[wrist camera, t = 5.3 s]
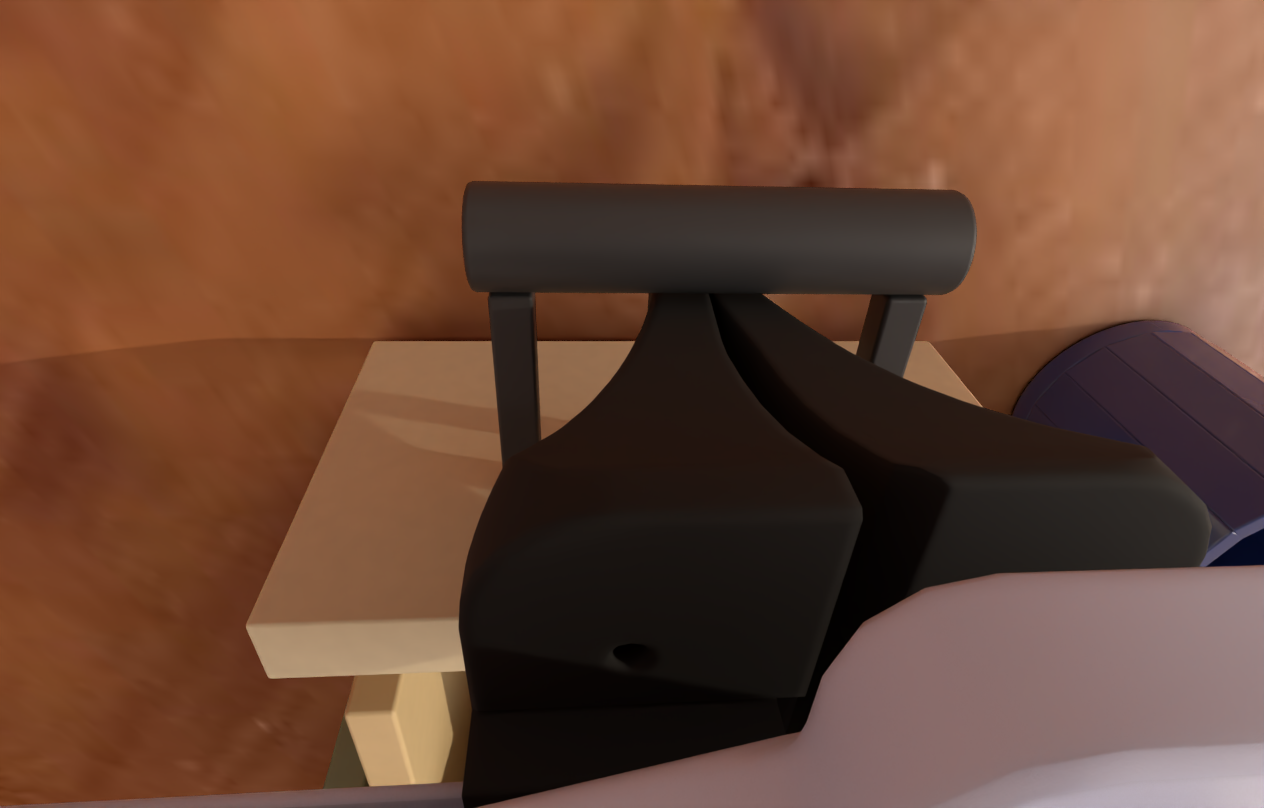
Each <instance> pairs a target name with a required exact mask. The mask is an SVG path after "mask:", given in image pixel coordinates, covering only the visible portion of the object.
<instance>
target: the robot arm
mask: <svg viewBox="0 0 1264 808" xmlns="http://www.w3.org/2000/svg"><path fill="white" fill-rule="evenodd" d="M1211 529H1212V524H1211V521H1210V517H1209V513H1208V510H1207V506H1206V504H1205V503H1204V502H1203V501H1202V500H1201V499H1200V498H1199V497H1198V496H1197V495H1196V494H1195V493H1194V492H1193V491H1192V490H1191V489H1190V488H1189V487H1188V486H1187V485H1186V484H1185V483H1184V482H1183V481H1182V480H1181V479H1180V478H1179V477H1178V476H1177V475H1176V474H1175V473H1174V472H1173V471H1172V470H1171V469H1170V468H1169V467H1168V466H1166V465H1165V464H1164V463H1163V462H1162V461H1161V460H1160V459H1159V458H1158V457H1157V456H1156V455H1155V454H1154V453H1153V452H1152V451H1151V450H1150V449H1148V448H1147V447H1145V446H1141V445H1136V444H1131V443H1127V442H1122V441H1117V440H1112V439H1107V438H1103V437H1098V436H1093V435H1088V434H1084V433H1079V432H1074V431H1069V430H1064V429H1060V428H1055V427H1051V426H1047V425H1043V424H1039V423H1035V422H1032V421H1028V420H1025V419H1021V418H1017V417H1014V416H1010V415H1007V414H1003V413H999V412H996V411H993V410H990V409H986V408H983V407H980V406H977V405H974V404H971V403H968V402H965V401H962V400H959V399H956V398H954V397H951V396H948V395H946V394H943V393H940V392H937V391H935V390H932V389H929V388H927V387H924V386H921V385H919V384H917V383H914V382H912V381H909V380H907V379H905V378H902V377H900V376H898V375H896V374H894V373H892V372H889V371H887V370H885V369H883V368H881V367H879V366H877V365H875V364H873V363H871V362H869V361H866V360H864V359H863V358H861V357H859V356H857V355H855V354H853V353H851V352H849V351H848V350H846V349H844V348H843V347H841V346H839V345H838V344H836V343H834V342H832V341H831V340H829V339H827V338H826V337H824V336H822V335H821V334H819V333H818V332H816V331H814V330H813V329H811V328H810V327H808V326H807V325H805V324H804V323H802V322H801V321H799V320H798V319H796V318H795V317H793V316H792V315H790V314H789V313H788V312H786V311H785V310H783V309H782V308H780V307H779V306H778V305H776V304H775V303H773V302H772V301H771V300H769V299H768V298H767V297H765V296H764V295H762V294H710V293H649V299H648V312H647V315H646V318H645V321H644V324H643V326H642V329H641V331H640V333H639V335H638V337H637V339H636V341H635V342H634V344H633V346H632V348H631V350H630V352H629V354H628V355H627V357H626V359H625V360H624V362H623V363H622V365H621V366H620V368H619V369H618V371H617V372H616V373H615V375H614V376H613V377H612V379H611V380H610V381H609V383H608V384H607V385H606V386H605V387H604V388H603V389H602V391H601V392H600V393H599V394H598V395H597V396H596V397H595V399H594V400H593V401H592V402H591V403H590V404H589V405H588V406H587V407H586V408H584V409H583V410H582V411H581V412H580V413H579V414H578V415H576V416H575V417H574V418H573V419H571V420H570V421H569V422H568V423H567V424H565V425H564V426H563V427H562V428H560V429H559V430H557V431H556V432H554V433H553V434H551V435H549V436H548V437H546V438H544V439H542V440H541V441H539V442H537V443H535V444H534V445H532V446H530V447H528V448H526V449H525V450H523V451H521V452H519V453H517V454H515V455H513V456H511V457H510V458H509V459H508V460H507V461H506V462H505V464H504V466H503V468H502V470H501V472H500V474H499V476H498V478H497V480H496V482H495V484H494V486H493V488H492V490H491V493H490V495H489V497H488V499H487V502H486V504H485V506H484V509H483V511H482V513H481V516H480V519H479V521H478V524H477V527H476V530H475V533H474V536H473V539H472V542H471V545H470V549H469V552H468V556H467V560H466V564H465V570H464V576H463V583H462V589H461V596H460V604H459V625H458V629H459V635H460V641H461V647H462V653H463V659H464V665H465V671H466V677H467V683H468V689H469V695H470V701H471V707H472V714H471V722H470V731H469V739H468V747H467V755H466V763H465V772H464V780H463V782H446V783H427V784H408V785H389V786H371V787H352V788H333V789H314V790H295V791H276V792H257V793H238V794H219V795H200V796H181V797H162V798H143V799H124V800H105V801H86V802H67V803H48V804H29V805H10V806H0V808H1264V565H1254V566H1221V567H1199V566H1200V565H1201V563H1202V561H1203V560H1204V558H1205V556H1206V552H1207V549H1208V544H1209V539H1210V534H1211Z"/></svg>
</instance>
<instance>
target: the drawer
mask: <svg viewBox="0 0 1264 808" xmlns="http://www.w3.org/2000/svg"><path fill="white" fill-rule="evenodd" d="M976 237H977V227H976V218H975V213H974V210H973V207H972V205H971V203H970V201H969V200H968V198H967V197H966V196H965V195H964V194H962V193H960V192H958V191H955V190H924V189H871V188H817V187H764V186H710V185H656V184H603V183H549V182H496V181H472V182H469V183H468V184H467V185H466V188H465V191H464V196H463V204H462V245H463V257H464V265H465V271H466V276H467V280H468V283H469V285H470V288H471V289H472V290H473V291H475V292H489V296H488V307H489V318H490V330H491V341H375V342H373V344H372V346H371V348H370V350H369V353H368V355H367V357H366V359H365V362H364V364H363V366H362V368H361V370H360V373H359V375H358V377H357V379H356V382H355V384H354V386H353V388H352V390H351V393H350V395H349V397H348V399H347V401H346V404H345V406H344V408H343V410H342V413H341V415H340V417H339V419H338V421H337V424H336V426H335V428H334V430H333V432H332V435H331V437H330V439H329V441H328V444H327V446H326V448H325V450H324V452H323V455H322V457H321V459H320V461H319V464H318V466H317V468H316V470H315V472H314V475H313V477H312V479H311V481H310V483H309V486H308V488H307V490H306V492H305V495H304V497H303V499H302V501H301V503H300V506H299V508H298V510H297V512H296V515H295V517H294V519H293V521H292V523H291V526H290V528H289V530H288V532H287V534H286V537H285V539H284V541H283V543H282V546H281V548H280V550H279V552H278V554H277V557H276V559H275V561H274V563H273V566H272V568H271V570H270V572H269V574H268V577H267V579H266V581H265V583H264V585H263V588H262V590H261V592H260V594H259V597H258V599H257V601H256V603H255V605H254V608H253V610H252V612H251V614H250V617H249V619H248V621H247V623H246V629H247V631H248V634H249V636H250V638H251V640H252V643H253V645H254V647H255V649H256V652H257V654H258V656H259V658H260V661H261V663H262V665H263V667H264V670H265V672H266V674H267V676H268V678H271V679H276V678H302V677H328V676H354V675H355V678H354V681H353V685H352V688H351V692H350V695H349V699H348V703H347V706H346V710H345V713H344V716H345V720H346V722H347V725H348V728H349V731H350V734H351V736H352V739H353V742H354V745H355V748H356V750H357V753H358V756H359V759H360V762H361V764H362V767H363V770H364V773H365V776H366V778H367V781H368V784H369V787H371V786H389V785H408V784H427V783H446V782H463V780H464V772H465V763H466V755H467V747H468V739H469V731H470V722H471V714H472V707H471V701H470V695H469V689H468V683H467V677H466V671H465V665H464V659H463V653H462V647H461V641H460V635H459V629H458V625H459V604H460V596H461V589H462V583H463V576H464V570H465V564H466V560H467V556H468V552H469V549H470V545H471V542H472V539H473V536H474V533H475V530H476V527H477V524H478V521H479V519H480V516H481V513H482V511H483V509H484V506H485V504H486V502H487V499H488V497H489V495H490V493H491V490H492V488H493V486H494V484H495V482H496V480H497V478H498V476H499V474H500V472H501V470H502V468H503V466H504V464H505V462H506V461H507V460H508V459H509V458H510V457H511V456H513V455H515V454H517V453H519V452H521V451H523V450H525V449H526V448H528V447H530V446H532V445H534V444H535V443H537V442H539V441H541V440H542V439H544V438H546V437H548V436H549V435H551V434H553V433H554V432H556V431H557V430H559V429H560V428H562V427H563V426H564V425H565V424H567V423H568V422H569V421H570V420H571V419H573V418H574V417H575V416H576V415H578V414H579V413H580V412H581V411H582V410H583V409H584V408H586V407H587V406H588V405H589V404H590V403H591V402H592V401H593V400H594V399H595V397H596V396H597V395H598V394H599V393H600V392H601V391H602V389H603V388H604V387H605V386H606V385H607V384H608V383H609V381H610V380H611V379H612V377H613V376H614V375H615V373H616V372H617V371H618V369H619V368H620V366H621V365H622V363H623V362H624V360H625V359H626V357H627V355H628V354H629V352H630V350H631V348H632V346H633V344H634V342H635V341H537V326H536V302H535V293H710V294H872V296H871V300H870V304H869V307H868V311H867V315H866V318H865V322H864V326H863V330H862V333H861V337H860V341H832V342H834V343H836V344H838V345H839V346H841V347H843V348H844V349H846V350H848V351H849V352H851V353H853V354H855V355H857V356H859V357H861V358H863V359H864V360H866V361H869V362H871V363H873V364H875V365H877V366H879V367H881V368H883V369H885V370H887V371H889V372H892V373H894V374H896V375H898V376H900V377H902V378H905V379H907V380H909V381H912V382H914V383H917V384H919V385H921V386H924V387H927V388H929V389H932V390H935V391H937V392H940V393H943V394H946V395H948V396H951V397H954V398H956V399H959V400H962V401H965V402H968V403H971V404H974V405H977V406H980V407H982V406H981V404H980V403H979V402H978V401H977V400H976V398H975V397H974V396H973V395H972V393H971V392H970V391H969V390H968V389H967V387H966V386H965V385H964V384H963V382H962V381H961V380H960V379H959V378H958V376H957V375H956V374H955V373H954V372H953V370H952V369H951V368H950V367H949V365H948V364H947V363H946V362H945V361H944V359H943V358H942V357H941V356H940V354H939V353H938V352H937V351H936V350H935V348H934V347H933V346H932V345H931V344H930V342H928V341H915V338H916V335H917V332H918V329H919V326H920V323H921V320H922V316H923V313H924V310H925V307H926V304H927V300H926V297H925V296H924V295H943V294H947V293H949V292H951V291H953V290H954V289H956V288H957V287H958V286H959V285H960V284H961V283H962V281H963V280H964V278H965V277H966V275H967V273H968V271H969V268H970V266H971V263H972V260H973V257H974V252H975V247H976Z"/></svg>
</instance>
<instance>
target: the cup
mask: <svg viewBox="0 0 1264 808" xmlns="http://www.w3.org/2000/svg"><path fill="white" fill-rule="evenodd" d="M1012 416H1014V417H1017V418H1021V419H1025V420H1028V421H1032V422H1035V423H1039V424H1043V425H1047V426H1051V427H1055V428H1060V429H1064V430H1069V431H1074V432H1079V433H1084V434H1088V435H1093V436H1098V437H1103V438H1107V439H1112V440H1117V441H1122V442H1127V443H1131V444H1136V445H1141V446H1145V447H1147V448H1148V449H1150V450H1151V451H1152V452H1153V453H1154V454H1155V455H1156V456H1157V457H1158V458H1159V459H1160V460H1161V461H1162V462H1163V463H1164V464H1165V465H1166V466H1168V467H1169V468H1170V469H1171V470H1172V471H1173V472H1174V473H1175V474H1176V475H1177V476H1178V477H1179V478H1180V479H1181V480H1182V481H1183V482H1184V483H1185V484H1186V485H1187V486H1188V487H1189V488H1190V489H1191V490H1192V491H1193V492H1194V493H1195V494H1196V495H1197V496H1198V497H1199V498H1200V499H1201V500H1202V501H1203V502H1204V503H1205V504H1206V506H1207V510H1208V513H1209V517H1210V521H1211V524H1212V529H1211V534H1210V539H1209V544H1208V549H1207V552H1206V556H1205V558H1204V560H1203V561H1202V563H1201V565H1200V566H1199V567H1221V566H1254V565H1264V377H1263V376H1261V375H1260V374H1258V373H1257V372H1256V371H1254V370H1253V369H1251V368H1250V367H1248V366H1247V365H1245V364H1244V363H1242V362H1241V361H1239V360H1238V359H1236V358H1235V357H1233V356H1232V355H1231V354H1229V353H1228V352H1226V351H1225V350H1223V349H1222V348H1220V347H1219V346H1217V345H1215V344H1213V343H1211V342H1209V341H1207V340H1206V339H1204V338H1203V337H1201V336H1200V335H1199V334H1197V333H1196V332H1194V331H1192V330H1191V329H1189V328H1188V327H1185V326H1182V325H1180V324H1177V323H1172V322H1167V321H1155V320H1150V321H1137V322H1131V323H1125V324H1122V325H1118V326H1114V327H1111V328H1108V329H1106V330H1103V331H1100V332H1098V333H1095V334H1093V335H1091V336H1089V337H1087V338H1085V339H1083V340H1081V341H1079V342H1078V343H1076V344H1074V345H1073V346H1071V347H1069V348H1068V349H1066V350H1065V351H1064V352H1062V353H1061V354H1059V355H1058V356H1057V357H1055V358H1054V359H1053V360H1052V361H1051V362H1049V363H1048V364H1047V365H1046V366H1045V367H1044V368H1043V369H1042V370H1041V371H1040V372H1039V373H1038V374H1037V375H1036V376H1035V377H1034V378H1033V380H1032V381H1031V382H1030V383H1029V384H1028V386H1027V387H1026V389H1025V390H1024V392H1023V393H1022V395H1021V396H1020V398H1019V400H1018V402H1017V404H1016V406H1015V408H1014V411H1013V414H1012Z"/></svg>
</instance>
